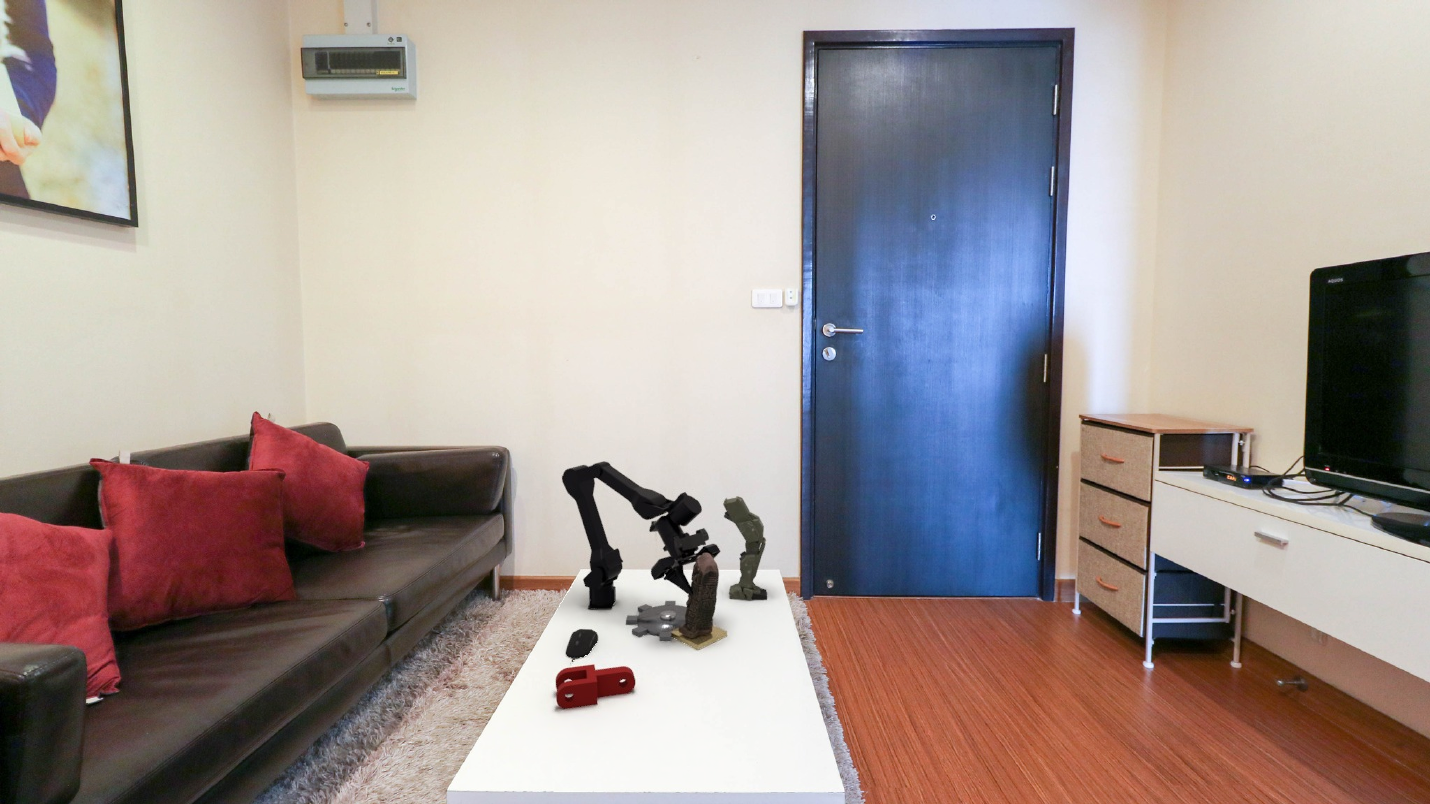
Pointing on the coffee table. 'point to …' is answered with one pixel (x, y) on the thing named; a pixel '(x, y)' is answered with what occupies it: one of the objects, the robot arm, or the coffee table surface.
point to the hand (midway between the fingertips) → (702, 591)
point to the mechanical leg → (747, 549)
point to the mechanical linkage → (591, 685)
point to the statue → (701, 597)
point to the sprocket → (669, 624)
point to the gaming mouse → (581, 643)
